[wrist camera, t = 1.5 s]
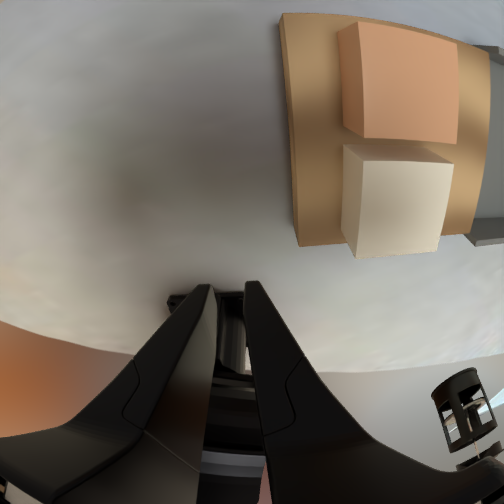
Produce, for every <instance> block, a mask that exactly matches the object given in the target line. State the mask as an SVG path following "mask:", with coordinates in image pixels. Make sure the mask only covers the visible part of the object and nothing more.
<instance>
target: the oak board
mask: <svg viewBox="0 0 504 504" xmlns="http://www.w3.org/2000/svg"><path fill="white" fill-rule="evenodd" d="M357 21H359V22H367V23H374V24H380V25H386V26H391V27H396V28H401V29H406V30H410V31H414V32H418V33H422V34H426V35H430V36H433V37H437V38H440V39H443V40H446V41H450V42H453V43H456V44H457V53H458V71H459V112H458V130H457V142H456V144H449V143H441V142H431V141H419V140H405V139H386V138H363V137H362V136H360V135H358V134H357V133H355V132H353V131H351V130H350V129H348V128H346V127H344V126H343V108H342V86H341V71H340V58H339V47H338V37H337V32H338V31H340V30H341V29H343V28H345V27H347V26H349V25H351V24H353V23H355V22H357ZM279 32H280V40H281V49H282V58H283V68H284V78H285V89H286V100H287V112H288V125H289V139H290V155H291V172H292V192H293V216H294V229H295V233H296V237H297V241H298V246H299V247H304V246H316V245H329V244H341V243H347V241H346V239H345V237H344V235H343V233H342V231H341V215H342V193H343V144H363V145H399V146H416V147H425V148H427V149H429V150H430V151H432V152H434V153H436V154H438V155H439V156H441V157H443V158H445V159H446V160H448V161H450V162H451V163H453V164H454V168H453V175H452V182H451V188H450V193H449V199H448V204H447V209H446V213H445V218H444V222H443V227H442V231H441V235H454V234H466V233H470V230H471V227H472V223H473V219H474V215H475V211H476V207H477V203H478V198H479V194H480V189H481V183H482V178H483V172H484V166H485V159H486V152H487V143H488V133H489V121H490V60H489V53H488V52H486V51H484V50H481V49H479V48H477V47H474V46H472V45H469V44H466V43H464V42H461V41H458V40H455V39H453V38H450V37H447V36H443V35H440V34H437V33H434V32H430V31H427V30H423V29H419V28H415V27H411V26H407V25H403V24H398V23H393V22H388V21H382V20H376V19H370V18H363V17H355V16H346V15H335V14H319V13H283V14H282V16H281V18H280V21H279ZM441 235H440V236H441Z"/></svg>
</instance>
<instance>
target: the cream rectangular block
mask: <svg viewBox="0 0 504 504" xmlns="http://www.w3.org/2000/svg"><path fill="white" fill-rule="evenodd" d="M453 168H454V164H453V163H451V162H450V161H448V160H446V159H445V158H443V157H441V156H439V155H438V154H436V153H434V152H432V151H430V150H429V149H427V148H425V147H416V146H399V145H363V144H343V193H342V215H341V231H342V233H343V235H344V237H345V239H346V241H347V243H348V245H349V247H350V249H351V251H352V253H353V255H354V257H355V259H363V258H374V257H384V256H394V255H404V254H414V253H423V252H433V251H436V250H437V246H438V243H439V239H440V235H441V231H442V227H443V222H444V218H445V213H446V209H447V204H448V199H449V193H450V188H451V182H452V175H453Z"/></svg>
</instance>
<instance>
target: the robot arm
mask: <svg viewBox="0 0 504 504" xmlns="http://www.w3.org/2000/svg"><path fill="white" fill-rule="evenodd" d="M239 298H242V299H239ZM173 302H175V303H173ZM167 305H168V307H169V310H170V312H171V315H170V316H169V317H168V319H167V320H166V321H165V322H164V323H163V324H162V325H161V326H160V328H159V329H158V330H157V331H156V332H155V333H154V334H153V335H152V337H151V338H150V339H149V340H148V341H147V342H146V343H145V345H144V346H143V347H142V348H141V349H140V350H139V351H138V353H137V354H136V355H135V356H134V357H133V359H134V360H133V359H131V360H130V362H129V363H128V364H127V365H126V366H125V367H124V369H123V370H122V371H121V372H120V373H119V374H118V375H117V376H116V377H115V378H114V379H113V380H112V382H110V383H109V384H108V386H106V387H105V388H104V389H103V390H102V391H101V392H100V393H99V394H98V395H97V396H96V397H95V398H94V399H93V400H92V401H91V402H90V403H89V404H88V405H86V406H85V407H84V408H83V409H82V410H81V411H80V412H79V413H78V414H77V415H76V416H75V417H74V418H72V419H71V420H70V421H68V422H67V423H65V424H63V425H60V426H58V427H55V428H50V429H46V430H41V431H36V432H32V433H27V434H21V435H16V436H10V437H2V438H0V504H257V503H258V501H259V494H260V485H261V478H262V473H263V469H264V465H265V461H266V463H267V471H268V478H269V484H270V491H271V499H272V504H504V464H503V463H501V462H500V461H498V460H496V459H495V458H493V457H491V456H487V457H485V458H484V459H482V460H480V461H478V462H476V463H475V464H473V465H471V466H469V467H467V468H465V469H463V470H460V471H455V472H445V471H440V470H436V469H434V468H431V467H429V466H427V465H424V464H423V463H420V462H418V461H416V460H414V459H412V458H410V457H408V456H406V455H404V454H401V453H400V452H397V451H396V450H394V449H392V448H390V447H388V446H386V445H384V444H382V443H380V442H379V441H377V440H376V439H375V438H373V437H372V436H371V435H370V434H369V433H367V432H366V431H365V430H364V429H363V428H362V427H361V426H360V424H359V423H358V422H357V421H356V420H355V419H354V418H353V417H352V415H351V414H350V413H349V412H348V411H347V410H346V409H345V407H344V406H343V405H342V404H341V403H340V402H339V401H338V399H337V398H336V397H335V396H334V395H333V394H332V392H331V391H330V390H329V389H328V388H327V386H326V385H325V384H324V383H323V381H322V380H321V379H320V377H319V376H318V374H317V373H316V371H315V370H314V368H313V367H312V365H311V364H310V362H309V360H308V359H307V357H306V356H305V354H304V353H303V351H302V350H301V348H300V346H299V345H298V343H297V341H296V340H295V338H294V337H293V335H292V333H291V332H290V330H289V329H288V327H287V325H286V324H285V322H284V320H283V319H282V317H281V316H280V314H279V312H278V311H277V309H276V308H275V306H274V304H273V303H272V301H271V299H270V298H269V296H268V295H267V293H266V291H265V290H264V288H263V286H262V285H261V283H260V282H259V281H258V280H256V281H247V282H246V283H245V289H244V293H243V292H236V293H221V294H214V291H213V287H212V285H211V284H199V285H197V286H196V287H195V288H194V289H193V291H192V292H191V293H190V294H189V295H183V296H170V297H169V298H168V301H167ZM246 347H248V350H249V357H250V364H251V370H252V375H249V374H245V353H246Z"/></svg>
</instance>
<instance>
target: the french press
mask: <svg viewBox="0 0 504 504" xmlns="http://www.w3.org/2000/svg"><path fill="white" fill-rule="evenodd" d="M480 388H481V390H482V393H483V395H484V397H480V398H478V399H476V400H473V399H472V396H473V395H474V394H476V393H477V391H479V389H480ZM431 397H432V399H433V400H434V402H435V405H436V408H437V411H438V414H439V417H440V420H441V423H442V426H443V430H444V433H445V437H446V440H447V444H448V448H449V452H450V453H453V452H456V451H458V450H460V449H463V448H465V447H467V446H469V445H470V444H472V443H474V445H475V448H476V452H477V456H475V457H473V458H471V459H469V460H467V461H465V462H463V463H461V464H458V465H456V468H457V471H460V470H463V469H465V468H467V467H469V466H471V465H473V464H475V463H476V462H478V461H480V460H482V459H484V458H485V457H487V456H491V457H493V458H495V457H497V456H498V454H499V453H500V452H502V451H503V450H504V449H503V450H502V447H501V443H500V441H498V442H496V443H494V444H493V445H492V446H491V447H490V448H489V449H487V450H485V451H483V452H482V453H480V454H479V451H478V448H477V444H476V441H477V440H479V439H481V438H482V437H484V436H485V435H487V434H488V433H490V432H491V431H492V430H494V429H495V428H496V427H497V426H498V425H497V422H496V420H495V417H494V414H493V412H492V409H491V406H490V403H489V401H488V398H487V396H486V393H485V391H484V389H483V386H482V384H481V382H480V379H479V377H478V375H477V370H476V368H473V367H472V368H467V369H465V370H462V371H460V372H458V373H456V374H454V375H453V376H451V377H449V378H448V379H446V380H445V381H444V382H442V383H441V384H440V385H439V386H438V387H437V388H436V389H435V390H434V391H433V392H432V394H431ZM485 402H486V403H487V405H488V408H489V411H490V413H491V416H492V419H493V420H491V421H489V422H487V423H485V424H483V425H482V423H481V420H480V417H479V414H478V411H477V409H479V408H480V407H481V406H482V405H483V404H484V403H485ZM462 403H463V406H462V405H461V404H462ZM451 409H452V412H453V413H452V414H451V415H449V416H448V417H447V418H446V419H445V420H444V417H443V414H442V412H445V411H448V410H451ZM453 423H457V427H458V430H459V433H460V436H461V438H459V439H458V440H456V441H455V442H453V443H451V440H450V436H449V433H448V430H447V425H451V424H453Z"/></svg>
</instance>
